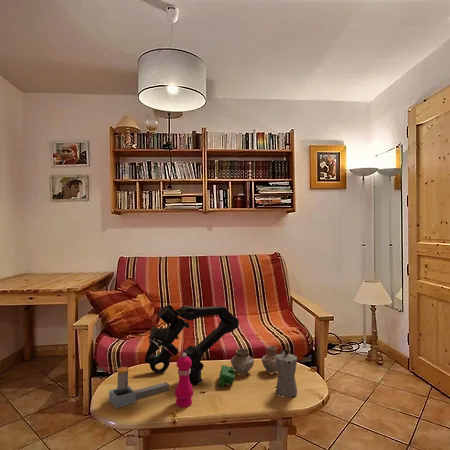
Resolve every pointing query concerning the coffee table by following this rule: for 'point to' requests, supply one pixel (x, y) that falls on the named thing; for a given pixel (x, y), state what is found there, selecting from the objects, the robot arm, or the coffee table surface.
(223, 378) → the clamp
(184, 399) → the pepper mill
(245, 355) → the pottery
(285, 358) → the coffeepot
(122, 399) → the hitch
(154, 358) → the controller
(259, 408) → the coffee table surface
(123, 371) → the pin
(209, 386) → the coffee table surface
